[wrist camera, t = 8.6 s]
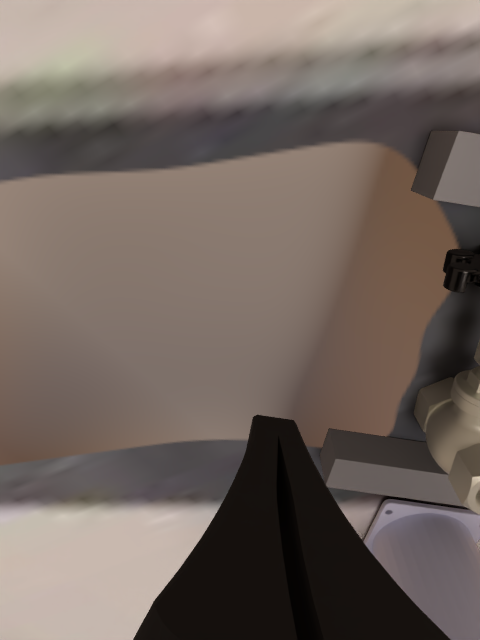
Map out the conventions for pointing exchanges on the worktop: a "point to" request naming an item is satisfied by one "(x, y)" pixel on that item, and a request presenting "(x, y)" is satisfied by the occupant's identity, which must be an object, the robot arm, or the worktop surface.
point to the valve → (456, 402)
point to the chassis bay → (392, 453)
